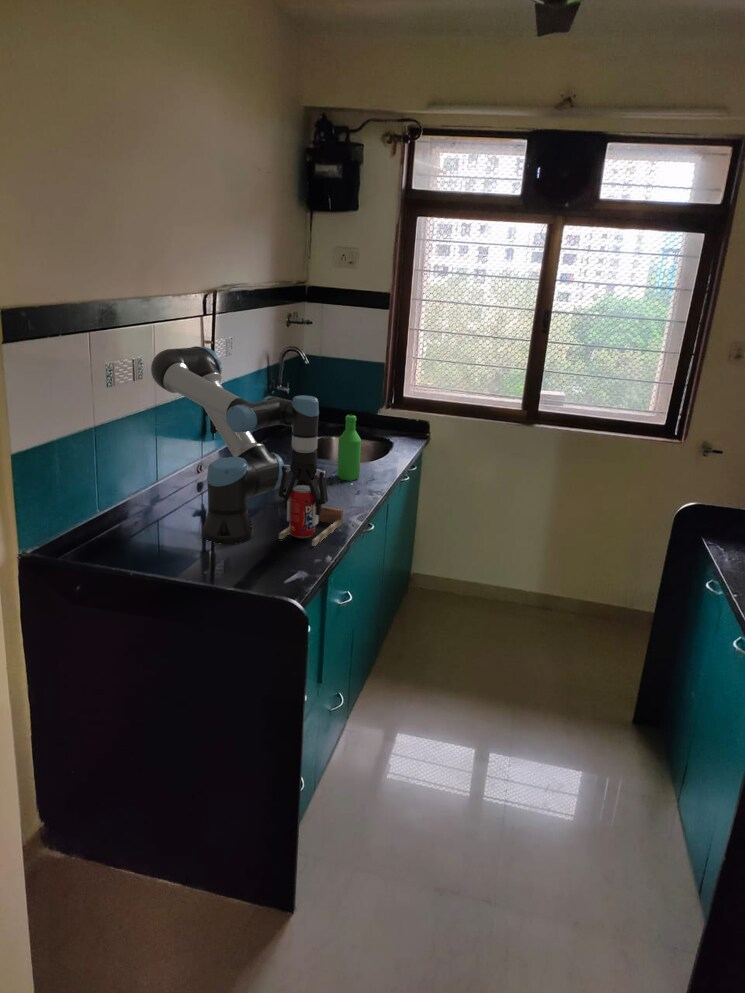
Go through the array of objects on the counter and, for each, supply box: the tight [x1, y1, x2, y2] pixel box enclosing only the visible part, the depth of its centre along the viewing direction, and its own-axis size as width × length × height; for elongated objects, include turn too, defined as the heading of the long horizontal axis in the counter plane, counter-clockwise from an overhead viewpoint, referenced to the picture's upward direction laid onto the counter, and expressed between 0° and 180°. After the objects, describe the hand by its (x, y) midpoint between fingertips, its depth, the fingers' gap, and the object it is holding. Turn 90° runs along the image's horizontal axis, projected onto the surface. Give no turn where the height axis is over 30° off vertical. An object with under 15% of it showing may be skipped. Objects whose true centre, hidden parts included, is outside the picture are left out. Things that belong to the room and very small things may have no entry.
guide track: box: [278, 505, 344, 547], centre depth 221 cm, size 22×12×5 cm, turn 160°
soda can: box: [288, 485, 316, 539], centre depth 213 cm, size 8×8×15 cm
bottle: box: [336, 414, 362, 482], centre depth 274 cm, size 9×9×25 cm
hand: (302, 521), depth 214 cm, fingers closed on soda can, 8 cm apart
